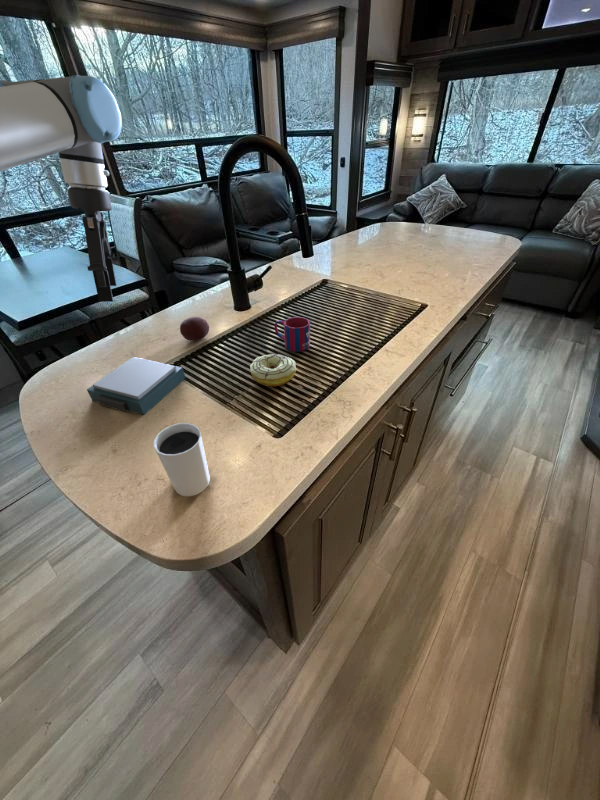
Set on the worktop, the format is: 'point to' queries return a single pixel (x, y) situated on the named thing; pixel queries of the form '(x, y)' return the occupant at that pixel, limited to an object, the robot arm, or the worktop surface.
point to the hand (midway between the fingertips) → (108, 292)
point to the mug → (295, 333)
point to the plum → (194, 328)
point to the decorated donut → (273, 369)
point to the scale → (136, 385)
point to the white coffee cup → (183, 458)
